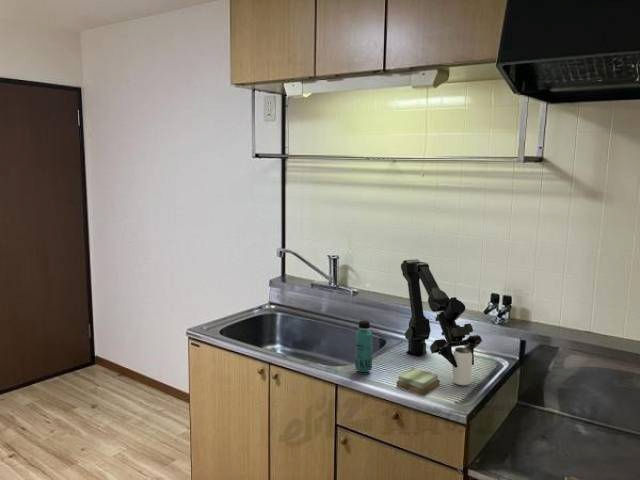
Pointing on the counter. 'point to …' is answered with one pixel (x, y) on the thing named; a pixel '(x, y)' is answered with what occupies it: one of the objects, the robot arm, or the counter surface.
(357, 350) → the beverage bottle
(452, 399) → the counter surface
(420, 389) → the tower base
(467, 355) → the can
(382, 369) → the counter surface
